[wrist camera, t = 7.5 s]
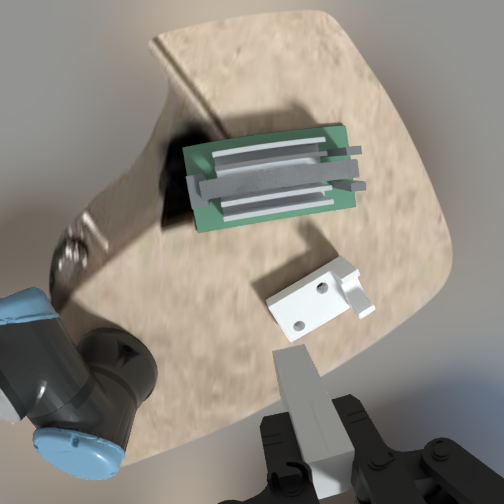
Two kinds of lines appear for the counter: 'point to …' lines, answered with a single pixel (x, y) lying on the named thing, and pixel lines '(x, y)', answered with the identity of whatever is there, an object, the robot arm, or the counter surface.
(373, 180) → the counter surface
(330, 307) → the bracket
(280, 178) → the strap
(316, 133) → the heatsink board
